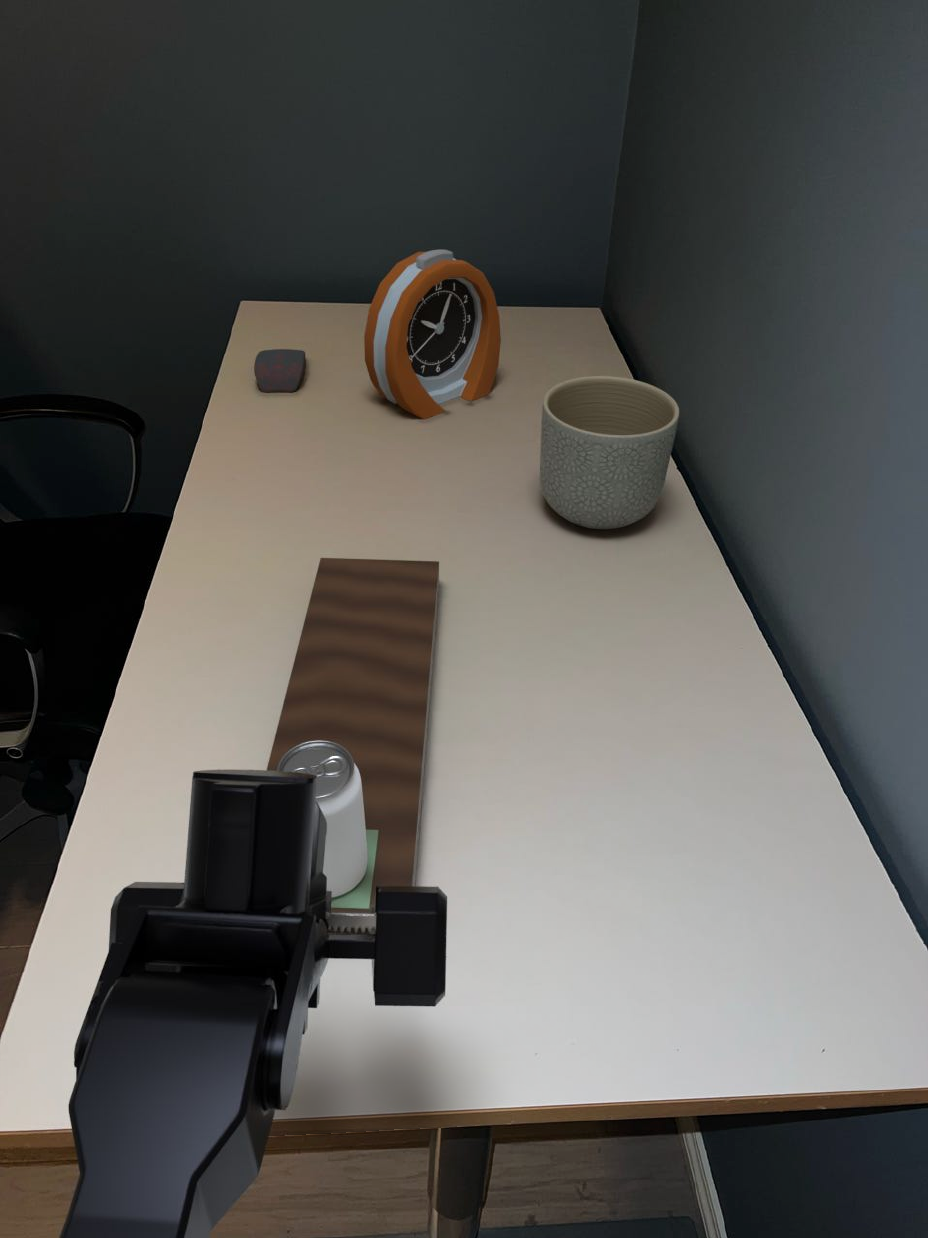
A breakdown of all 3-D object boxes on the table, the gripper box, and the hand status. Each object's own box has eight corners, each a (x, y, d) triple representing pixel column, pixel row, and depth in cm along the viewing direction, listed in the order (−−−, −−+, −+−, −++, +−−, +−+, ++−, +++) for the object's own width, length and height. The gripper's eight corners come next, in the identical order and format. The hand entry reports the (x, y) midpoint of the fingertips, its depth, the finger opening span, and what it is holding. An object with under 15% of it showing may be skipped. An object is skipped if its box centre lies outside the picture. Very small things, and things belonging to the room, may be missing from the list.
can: (378, 887, 74) (371, 788, 66) (298, 912, 72) (281, 813, 64) (355, 826, 78) (346, 726, 71) (280, 848, 76) (262, 748, 69)
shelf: (410, 944, 74) (409, 918, 71) (235, 938, 74) (229, 911, 72) (439, 584, 111) (439, 559, 108) (322, 581, 111) (320, 556, 109)
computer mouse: (253, 392, 150) (250, 369, 147) (263, 357, 160) (260, 335, 158) (303, 392, 150) (301, 369, 148) (310, 357, 161) (308, 335, 158)
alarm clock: (404, 427, 142) (400, 278, 127) (365, 404, 147) (357, 259, 133) (508, 386, 153) (515, 246, 139) (468, 367, 159) (471, 230, 145)
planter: (591, 464, 134) (604, 364, 124) (686, 512, 124) (707, 407, 115) (508, 505, 125) (514, 400, 115) (603, 560, 115) (619, 451, 106)
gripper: (447, 815, 46) (449, 789, 61) (71, 809, 46) (169, 784, 61) (443, 1049, 45) (446, 962, 60) (58, 1043, 45) (160, 957, 60)
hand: (305, 911), depth 61 cm, fingers open, 9 cm apart
